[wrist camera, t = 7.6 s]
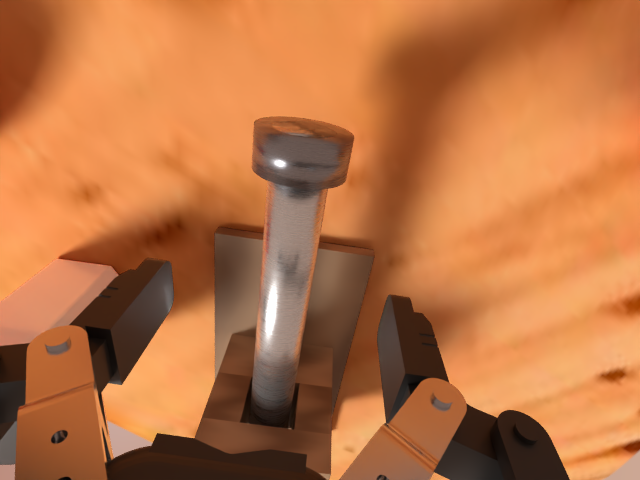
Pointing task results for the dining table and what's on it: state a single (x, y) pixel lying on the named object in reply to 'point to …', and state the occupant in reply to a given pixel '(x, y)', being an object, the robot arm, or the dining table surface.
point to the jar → (47, 311)
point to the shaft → (290, 247)
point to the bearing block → (315, 357)
